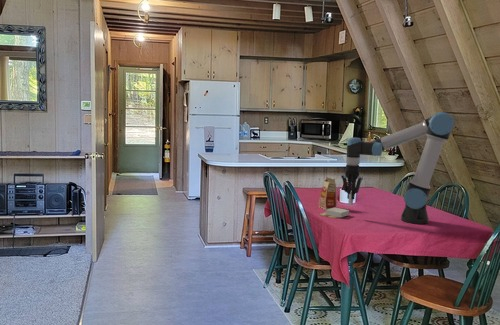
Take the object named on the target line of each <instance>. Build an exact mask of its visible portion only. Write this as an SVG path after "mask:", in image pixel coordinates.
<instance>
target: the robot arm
mask: <svg viewBox="0 0 500 325" xmlns="http://www.w3.org/2000/svg"><path fill="white" fill-rule="evenodd" d="M454 125H455V120H454V118H453V117H452V115H451V114H450V113H447V112H445V111H439V112H436V113H434V114H433V115H431V116H430V117H427V118H426V119H424V120H423V121H422V122H420V123H417V124H414V125H412V126H410V127H407V128H404V129H400V130H399V131H396V132H393V133H390V134H387V135H385V136H383V137H380V138H377V139H374V140H371V141H362V139H361V138H360V137H348V139H347V142H346V143H347V144H346V157H345V158H346V160H345V164H346V165H345V173H344V174H343V175H341V179H342V183H343V190H344V192H345V193H346V194H347V196H346V197H347V200H348V204H347V205H348V206H353V205H354V200H355V195H356V194H358V193H359V191H360V187H361V184H362V181H363V180H364V177H361V175H360V173H359V172H360V159H361V156H363V155H364V156H372V157H373V156H374V157H376V156H377V157H380V156H382V153H383V152H384V151H386V150H389V149H393V148H394V147H397V146H400V145H403V144H406V143H409V142H412V141H414V140H416V139H420V138H423V137H425V136H426V137H427V139H426V142H425V144H424V147H423V150H422V153H421V156H420V158H419V162H418V165H417V167H416V171H415V174H414V176H413V178H412V179H410V180H409V181H408V182H407V184H406V190H405V193H404V195H403V200H404V203H405V204H404V205H405V206H404V208H403V211H402V213H401V215H400V220H401V221H403V222H405V223H408V224H409V223H410V224H415V225H416V224H418V225H425V224H424V223H426V224H428V223H429V214H428V212H427V202H428V198H429V197H428V196H429V195H430V191H431V189H432V187H431V186H430V183H431V180H432V177H433V174H434V172H435V169H436V166H437V163H438V160H439V157H440V154H441V152H442V150H443V149H442V148H443V146H444V143H445V142H447V141H448V140H449V138H450V136H451V132H452V130H453V129H454Z"/></svg>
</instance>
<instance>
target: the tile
mask: <svg viewBox="0 0 500 325" xmlns="http://www.w3.org/2000/svg"><path fill="white" fill-rule="evenodd" d="M325 212H326V215H330V216H335V217H339V218H344V217H346V216H350V210H348V209H344V208H339V207H336V208H335V207H334V208H331V209H327V210H325ZM339 218H338V219H339Z"/></svg>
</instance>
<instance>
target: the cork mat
mask: <svg viewBox="0 0 500 325" xmlns="http://www.w3.org/2000/svg"><path fill="white" fill-rule="evenodd" d="M318 215H319V216H323V217H328V218H332V219H336V220H337V219H339V217H335V216H330V215H326V211H324V212H322V213H319V214H318Z"/></svg>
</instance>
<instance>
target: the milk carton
mask: <svg viewBox="0 0 500 325" xmlns="http://www.w3.org/2000/svg"><path fill="white" fill-rule="evenodd" d="M325 178H326V179H325V180H324V182H323V185H322V189H321V192H320V196H319V200H318V207H319V208H320V207H321V208H320V209H322V208H323V210H324V209H325V210H324V211H326V210H327V209H331V208H334V207H335V208H338V206H337V204H338V201H337V200H338V196H337V194H338V193H337V184H336V178H330V177H327V176H325Z"/></svg>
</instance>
